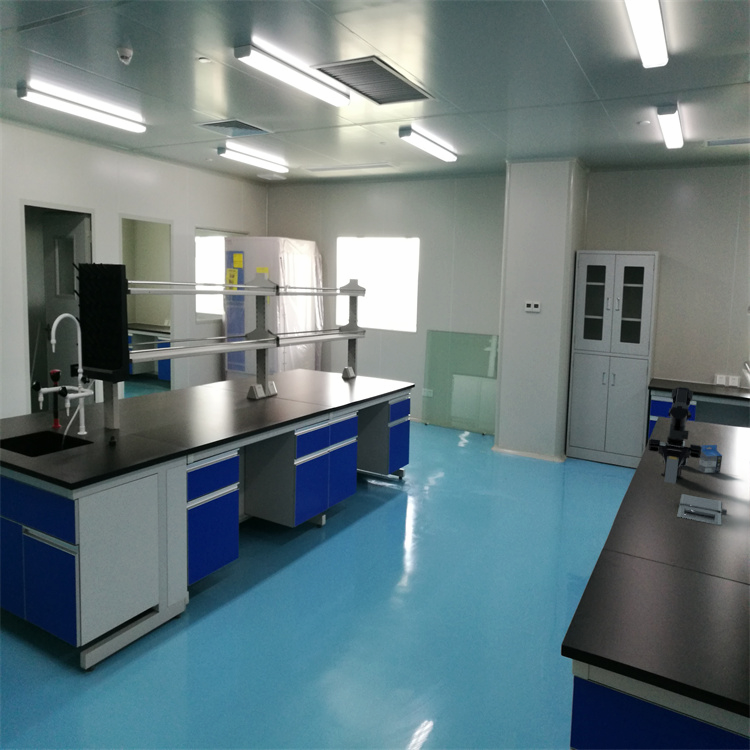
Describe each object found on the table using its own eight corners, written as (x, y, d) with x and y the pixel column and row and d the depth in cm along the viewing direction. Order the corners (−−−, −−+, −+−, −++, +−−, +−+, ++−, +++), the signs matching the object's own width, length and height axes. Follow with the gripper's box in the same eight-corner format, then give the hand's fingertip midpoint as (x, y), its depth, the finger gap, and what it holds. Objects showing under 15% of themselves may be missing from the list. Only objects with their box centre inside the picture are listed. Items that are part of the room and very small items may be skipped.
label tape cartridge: (704, 473, 278) (707, 447, 277) (697, 471, 282) (701, 445, 280) (720, 473, 281) (723, 446, 279) (713, 470, 285) (716, 444, 283)
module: (664, 479, 244) (667, 455, 242) (675, 481, 242) (678, 457, 240) (664, 481, 240) (667, 457, 239) (675, 483, 238) (678, 459, 237)
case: (681, 495, 247) (682, 490, 246) (726, 503, 239) (726, 498, 239) (677, 516, 222) (677, 512, 222) (726, 526, 214) (727, 521, 214)
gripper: (651, 418, 245) (646, 451, 237) (704, 425, 237) (700, 459, 229) (651, 433, 253) (645, 465, 245) (701, 441, 245) (698, 474, 237)
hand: (671, 466), depth 239 cm, fingers closed on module, 4 cm apart
